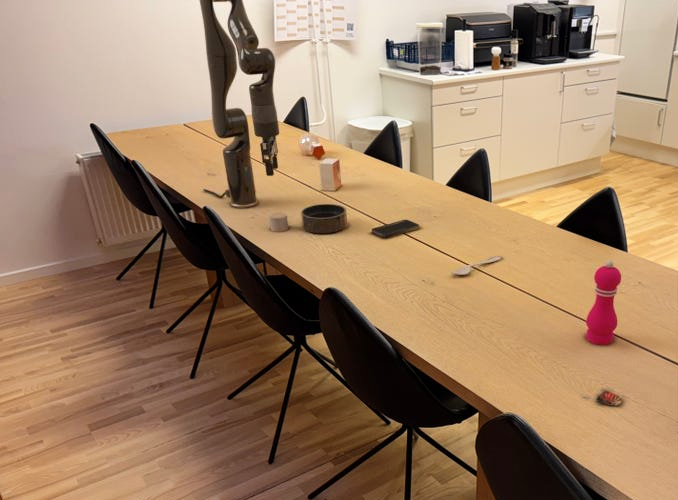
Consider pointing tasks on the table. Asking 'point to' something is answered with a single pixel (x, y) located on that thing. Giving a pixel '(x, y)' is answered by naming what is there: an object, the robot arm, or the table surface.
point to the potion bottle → (311, 146)
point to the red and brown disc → (609, 398)
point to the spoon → (467, 268)
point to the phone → (395, 228)
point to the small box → (330, 174)
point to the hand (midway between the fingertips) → (272, 172)
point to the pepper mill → (603, 305)
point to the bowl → (324, 218)
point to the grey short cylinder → (278, 221)
